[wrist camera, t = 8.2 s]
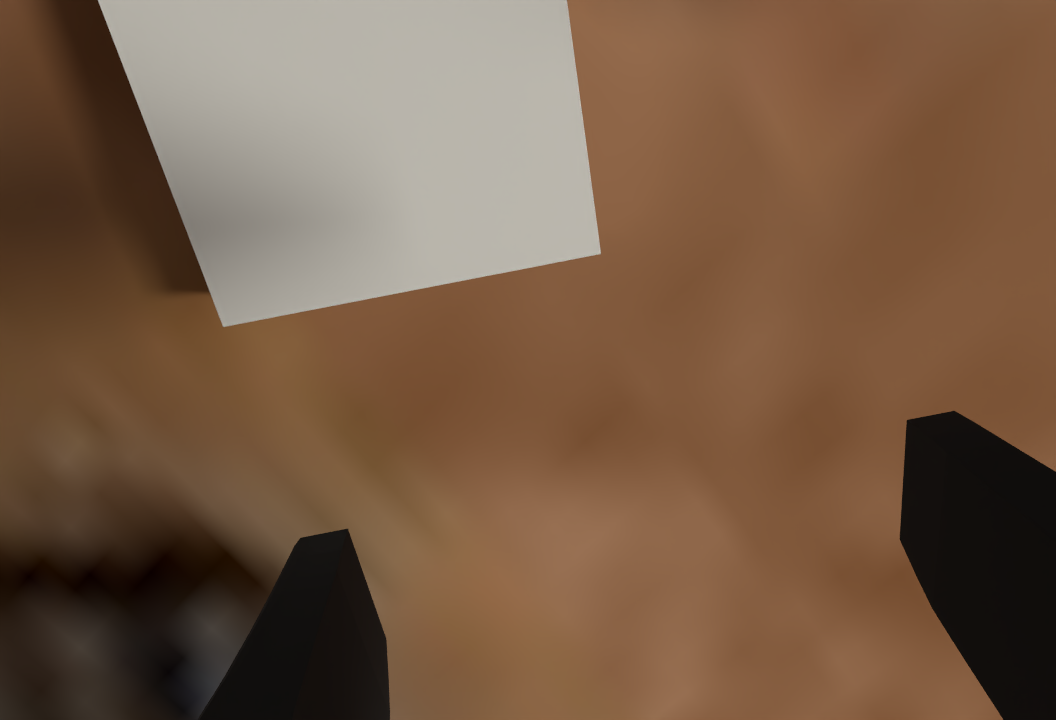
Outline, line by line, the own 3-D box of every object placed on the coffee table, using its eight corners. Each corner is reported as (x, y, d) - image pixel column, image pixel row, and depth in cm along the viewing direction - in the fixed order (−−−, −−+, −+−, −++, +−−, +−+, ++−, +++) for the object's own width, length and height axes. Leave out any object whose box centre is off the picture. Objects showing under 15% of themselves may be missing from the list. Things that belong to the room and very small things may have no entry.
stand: (533, -184, 17) (543, -179, 16) (589, 224, 22) (600, 253, 20) (89, -98, 17) (64, -87, 16) (234, 293, 22) (223, 326, 20)
